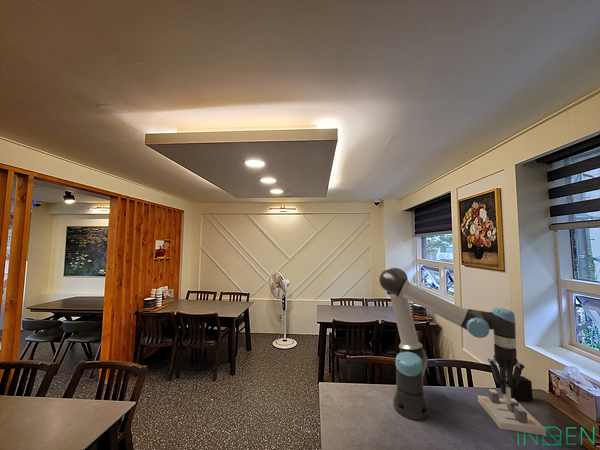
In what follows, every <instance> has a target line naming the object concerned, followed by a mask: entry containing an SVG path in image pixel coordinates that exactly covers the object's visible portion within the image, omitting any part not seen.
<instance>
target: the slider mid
mask: <svg viewBox="0 0 600 450" xmlns="http://www.w3.org/2000/svg"><path fill="white" fill-rule="evenodd" d="M518 403H519V402H518ZM518 403H517V401H516V400H515V399H513V398H511V404H507V408H508V409H509V410H510V411H511V412H512V413H514V407H515V406H518V407H519V404H520V403H519V404H518Z"/></svg>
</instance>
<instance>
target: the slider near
mask: <svg viewBox="0 0 600 450" xmlns="http://www.w3.org/2000/svg"><path fill="white" fill-rule="evenodd" d="M522 407H523V406H522ZM522 407H518V406H515V407H514V415H515V418H516V419H517V420H518V421H519V422H524V423H528V421H527V412H528V411H527V410H526V409H525V408H524V407H523V408H524V409H525V410H526V411H527V412H526V411H525V410H524V409H523V408H522Z"/></svg>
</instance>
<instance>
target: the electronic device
mask: <svg viewBox="0 0 600 450" xmlns="http://www.w3.org/2000/svg"><path fill="white" fill-rule="evenodd" d="M532 384H533V383H532V380H530V379H528V378H527V377H525V376H522V375H521V376H520V381H519V385H518V387H514V389H513V395H511V398H513V399H515V400H516V401H517V402H518V403H519V402H520V403H521V402H523V403H526V402H530V403H532V402H533V401H534V399H533V385H532ZM506 385H507V380H506Z"/></svg>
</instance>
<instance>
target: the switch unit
mask: <svg viewBox="0 0 600 450" xmlns="http://www.w3.org/2000/svg"><path fill="white" fill-rule="evenodd" d="M477 401H478V403H479V404H480V406H482V408H483V409H484V411H485V412H486V413H487V414H488V416H490V418H491V419H492V420H493V422H495V425H497V427H498V428H499V429H500V430H507V431H512V432H518V431H519V433H525V434H533V435H538V436H539V435H540V436H545V437H547V429H546V428H545V426H543V425H542V424H541V423H540V422H539V421H538V420H537V419H536V418H535V417H534V416H533V415H532V414H531V413H530V412H528V411H527V410H526V409H525V408H524V407H523V406H522V405H521V404H520V403H519V402H517V403H518V404H519V407H522V408H523V409H524V410H525V411H526V412H527V421H528V423H524V422H519V421H518V420H517V419H516V418H515V415H514V413H512V412H511V411H510V410H509V409H508V408H507V403H506V402H505V401H504V400H503V397H502V398H500V397H499V403H493V402H491V401H490V399H489V396H485V395H484V396H483V395H477Z"/></svg>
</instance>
